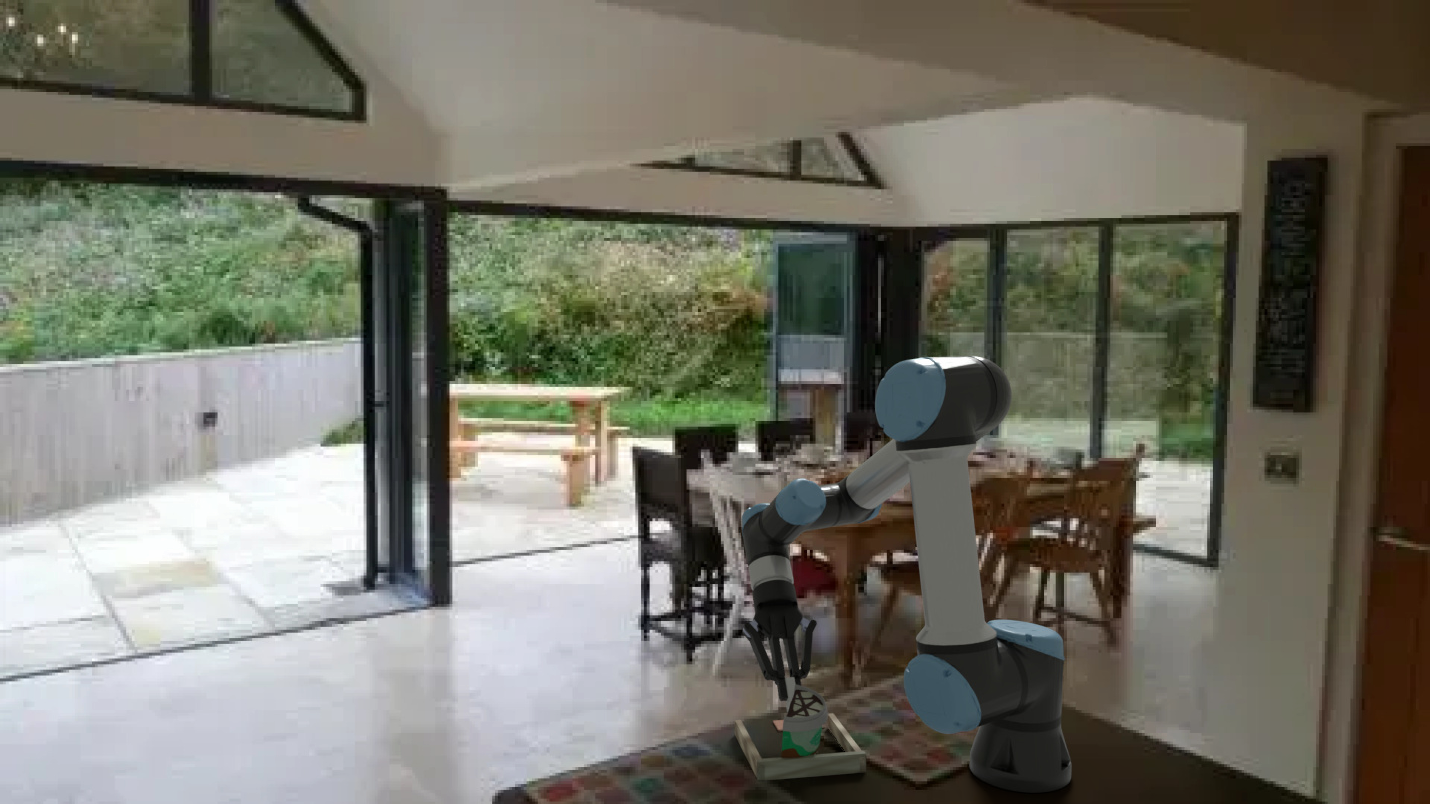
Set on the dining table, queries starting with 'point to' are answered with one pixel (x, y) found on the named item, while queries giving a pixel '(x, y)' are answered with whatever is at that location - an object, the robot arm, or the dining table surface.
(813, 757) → the beige u-shaped frame
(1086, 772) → the dining table surface
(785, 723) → the food container
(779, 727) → the mat
